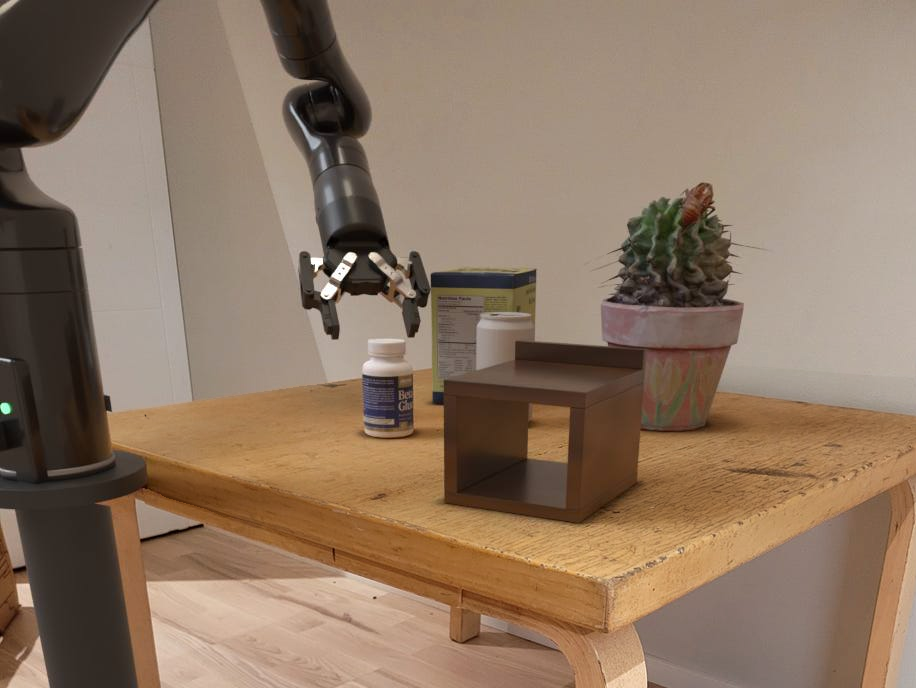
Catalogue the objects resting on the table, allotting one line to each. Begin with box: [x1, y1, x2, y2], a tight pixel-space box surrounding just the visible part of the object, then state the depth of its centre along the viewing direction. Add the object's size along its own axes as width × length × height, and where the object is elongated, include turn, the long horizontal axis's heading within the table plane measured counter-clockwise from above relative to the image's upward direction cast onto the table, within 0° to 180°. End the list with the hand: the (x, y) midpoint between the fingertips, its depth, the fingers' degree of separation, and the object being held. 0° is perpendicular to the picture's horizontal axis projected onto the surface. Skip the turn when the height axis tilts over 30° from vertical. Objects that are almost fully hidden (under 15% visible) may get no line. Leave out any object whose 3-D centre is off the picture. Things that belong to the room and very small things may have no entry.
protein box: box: [430, 266, 538, 405], centre depth 123 cm, size 10×16×16 cm
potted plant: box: [583, 181, 774, 432], centre depth 106 cm, size 18×20×25 cm
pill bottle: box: [361, 338, 415, 439], centre depth 102 cm, size 5×5×10 cm
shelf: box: [443, 340, 647, 524], centre depth 80 cm, size 14×12×12 cm
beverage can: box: [476, 312, 534, 421], centre depth 107 cm, size 6×6×12 cm
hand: (374, 334), depth 105 cm, fingers open, 8 cm apart
